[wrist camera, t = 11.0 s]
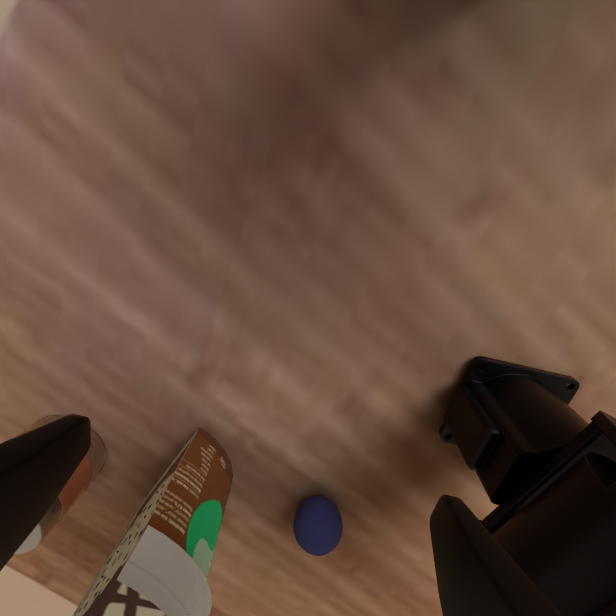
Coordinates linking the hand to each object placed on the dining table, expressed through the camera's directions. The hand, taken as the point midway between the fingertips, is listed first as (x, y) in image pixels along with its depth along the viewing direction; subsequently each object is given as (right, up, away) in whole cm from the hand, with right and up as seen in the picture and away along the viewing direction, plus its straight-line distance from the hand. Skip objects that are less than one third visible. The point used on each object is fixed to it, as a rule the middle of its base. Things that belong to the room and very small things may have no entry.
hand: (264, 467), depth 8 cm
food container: (-7, -10, +17) cm, 21 cm away
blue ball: (+2, -11, +17) cm, 20 cm away
